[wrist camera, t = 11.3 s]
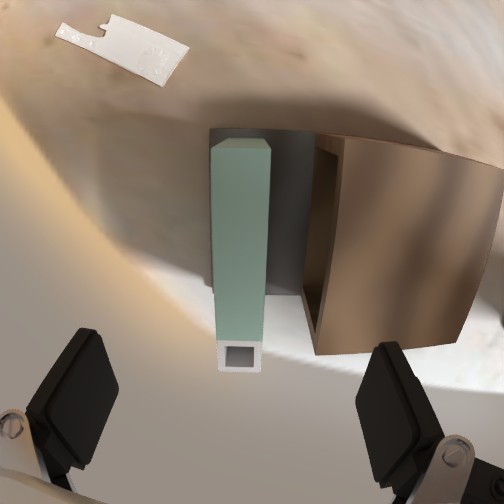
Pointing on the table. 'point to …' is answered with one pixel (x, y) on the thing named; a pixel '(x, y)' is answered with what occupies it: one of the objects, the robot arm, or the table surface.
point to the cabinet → (375, 236)
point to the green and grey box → (240, 249)
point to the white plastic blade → (131, 48)
